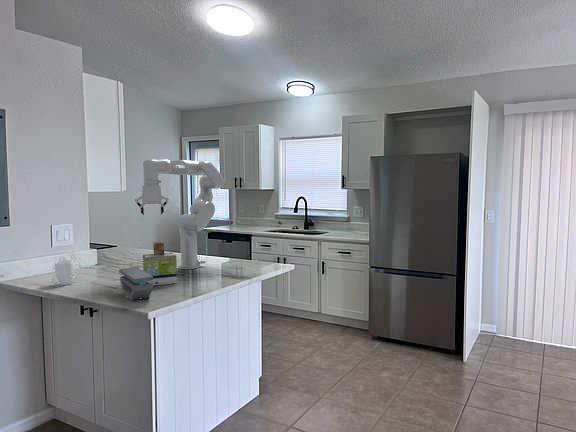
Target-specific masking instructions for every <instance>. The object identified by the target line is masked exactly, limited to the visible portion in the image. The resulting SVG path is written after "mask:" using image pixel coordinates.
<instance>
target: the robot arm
mask: <svg viewBox="0 0 576 432" xmlns="http://www.w3.org/2000/svg"><path fill="white" fill-rule="evenodd" d="M142 166H143V169H142V170H143V171H142V172H143V185H142V188H141V196H139V197H137V198H136V199H134V201H135V203H136V204H137V205H136V206H138V207H139V208H140V214H142V216H144V215H145V209H144V206H145V205H155V204H156V205H157V204H159V205H160V214H161V215H163V213H164V210H165V209H164V208H165V206H166V205H167V204H168V202H169V198H168V197H165V196H163V195H162V189H161V185H160V184H161V183H162V180H160V179H159V174H161V175H162V174H163V175H165V174H166V175H175V176H176V175H178V176H200V178H199V181H198V183H199V189H200V191H199V194H198V196H197V197H196V198H195V200H194V202H192V204H191V206H190V207H189V212H190V213H184V214H182V215H180V216H179V217H178V219H177V226H178V232H179V240H180V241H179V242H180V264H179V265H178V269H180V270H193V269H194V270H195V269H199V268H200V267H201V264H206V259H198V239H197V234H196V232H200V231H203V230H204V229H205V228H206V227H207V226H208V224H209V222H210V221H211V220H212V218H213V217H214V215H215V211H216V206H215V204H214V203H213V200H214V195H213V191H212V190H213V189H215V190H217V189H221V188H223V186H224V184H225V180H224V177H223V176H222V174H221V173H220V172H219V170H218V169H217V167H216V166H215V165H214V164H213V163H211V161H207V160H188V159H187V160H185V159H177V160H176V159H175V160H169V159H145V160H143V162H142ZM140 200H141V201H142V203H140V202H139V201H140ZM162 200H164V202H163V203H162Z"/></svg>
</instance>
